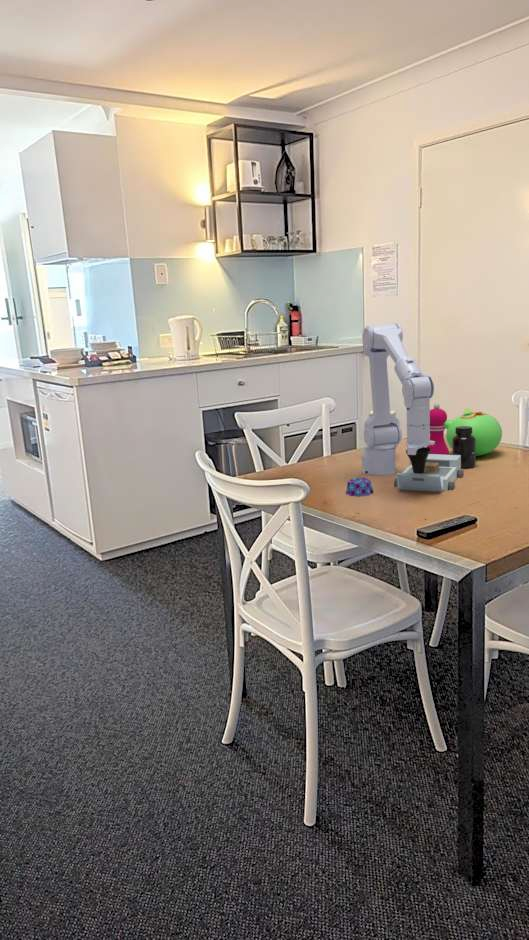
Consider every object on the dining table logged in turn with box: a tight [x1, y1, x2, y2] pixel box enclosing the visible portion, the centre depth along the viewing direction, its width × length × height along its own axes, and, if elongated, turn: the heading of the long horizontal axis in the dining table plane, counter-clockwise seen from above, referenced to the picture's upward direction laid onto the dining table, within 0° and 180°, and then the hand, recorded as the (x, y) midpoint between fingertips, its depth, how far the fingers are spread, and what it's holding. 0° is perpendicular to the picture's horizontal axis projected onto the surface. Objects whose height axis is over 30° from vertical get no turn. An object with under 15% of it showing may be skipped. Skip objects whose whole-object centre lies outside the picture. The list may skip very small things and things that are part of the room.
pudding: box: [345, 477, 375, 498], centre depth 177 cm, size 12×12×5 cm
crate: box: [424, 462, 439, 474], centre depth 184 cm, size 4×4×4 cm
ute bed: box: [393, 454, 465, 492], centre depth 184 cm, size 16×19×6 cm
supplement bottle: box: [451, 426, 477, 469], centre depth 201 cm, size 7×7×12 cm
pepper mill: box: [426, 402, 450, 455], centre depth 199 cm, size 7×7×20 cm
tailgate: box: [396, 471, 444, 493], centre depth 174 cm, size 11×6×1 cm
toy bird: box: [444, 407, 503, 457], centre depth 214 cm, size 18×17×15 cm
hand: (418, 475), depth 173 cm, fingers closed, pressing on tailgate
